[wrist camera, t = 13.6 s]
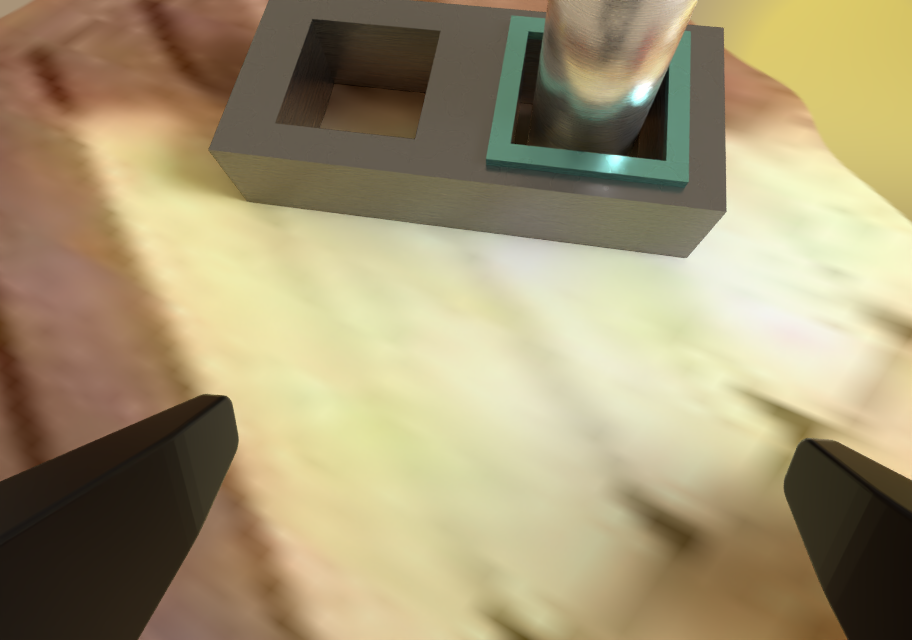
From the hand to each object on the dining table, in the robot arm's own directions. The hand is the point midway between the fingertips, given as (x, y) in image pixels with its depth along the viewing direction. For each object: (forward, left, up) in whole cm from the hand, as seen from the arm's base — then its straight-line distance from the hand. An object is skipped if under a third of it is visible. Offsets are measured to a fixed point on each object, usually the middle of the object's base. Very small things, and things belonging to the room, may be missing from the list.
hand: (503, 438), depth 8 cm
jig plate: (+6, +16, -13) cm, 21 cm away
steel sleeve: (+10, +13, -14) cm, 21 cm away
